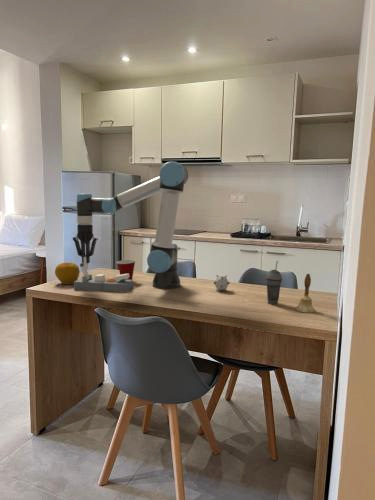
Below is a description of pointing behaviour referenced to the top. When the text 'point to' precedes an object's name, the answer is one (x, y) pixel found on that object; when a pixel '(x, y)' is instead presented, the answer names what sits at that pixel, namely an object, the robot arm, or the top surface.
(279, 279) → the beverage cup
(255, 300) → the top surface
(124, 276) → the rocker
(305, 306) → the hand bell
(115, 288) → the grey tray
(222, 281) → the grey spiky ball
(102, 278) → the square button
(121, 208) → the robot arm
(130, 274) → the plastic cup
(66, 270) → the apple
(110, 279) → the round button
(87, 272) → the lever
